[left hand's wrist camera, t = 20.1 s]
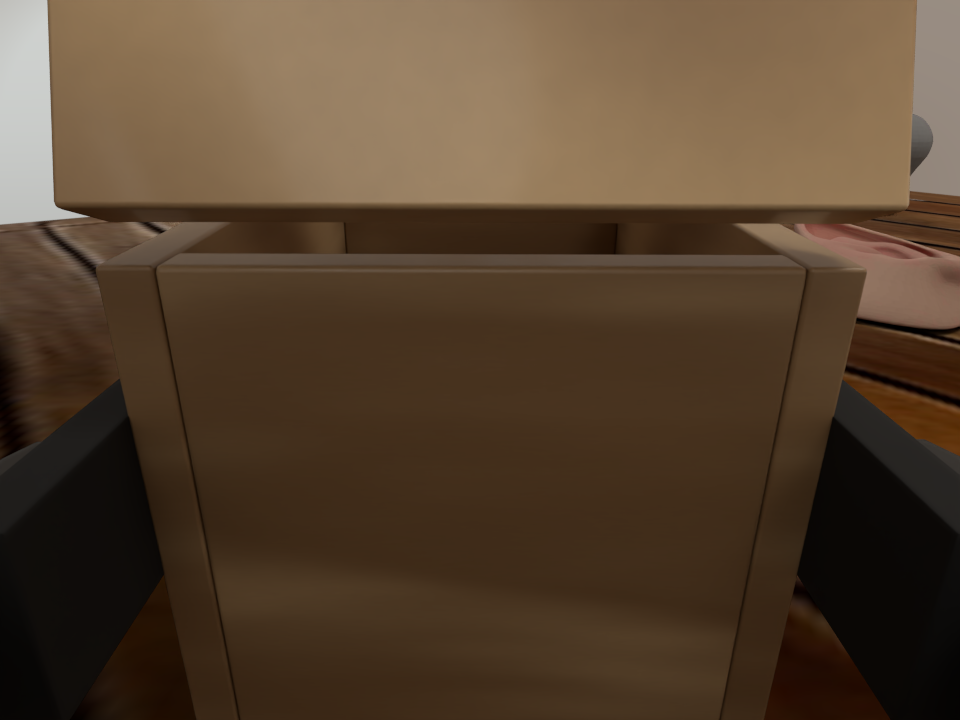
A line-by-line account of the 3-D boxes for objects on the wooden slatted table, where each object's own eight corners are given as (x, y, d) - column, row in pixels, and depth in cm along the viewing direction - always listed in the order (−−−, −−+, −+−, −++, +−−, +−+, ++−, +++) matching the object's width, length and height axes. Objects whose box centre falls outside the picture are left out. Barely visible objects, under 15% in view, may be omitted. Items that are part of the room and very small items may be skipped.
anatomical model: (1025, 266, 35) (782, 246, 39) (1002, 339, 36) (771, 312, 40) (969, 222, 46) (785, 210, 50) (953, 279, 48) (776, 263, 52)
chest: (344, 461, 24) (318, 153, 20) (615, 462, 24) (643, 154, 20) (217, 825, 13) (91, 265, 8) (740, 827, 13) (871, 268, 8)
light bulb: (864, 215, 71) (886, 113, 67) (843, 206, 76) (862, 111, 73) (926, 217, 70) (951, 114, 66) (900, 207, 76) (922, 111, 72)
